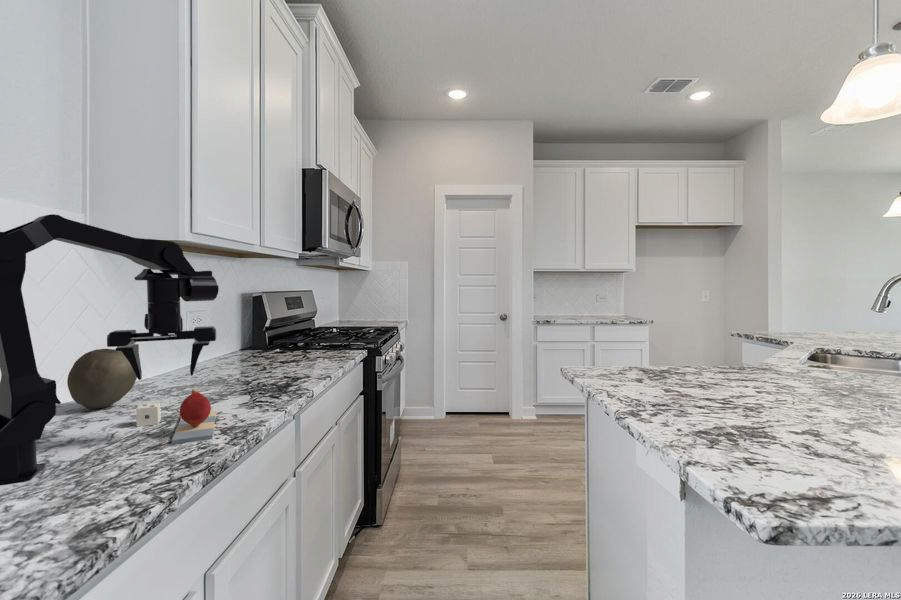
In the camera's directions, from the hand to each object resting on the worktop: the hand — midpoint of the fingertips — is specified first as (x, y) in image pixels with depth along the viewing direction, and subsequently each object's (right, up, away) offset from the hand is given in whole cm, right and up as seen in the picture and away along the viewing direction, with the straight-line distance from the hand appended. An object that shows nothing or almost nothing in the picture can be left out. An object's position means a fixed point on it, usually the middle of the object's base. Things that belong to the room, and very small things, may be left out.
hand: (166, 377), depth 94 cm
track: (+4, -12, +5) cm, 13 cm away
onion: (+5, -11, +3) cm, 12 cm away
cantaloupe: (-30, -12, +23) cm, 40 cm away
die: (-9, -12, +9) cm, 18 cm away
